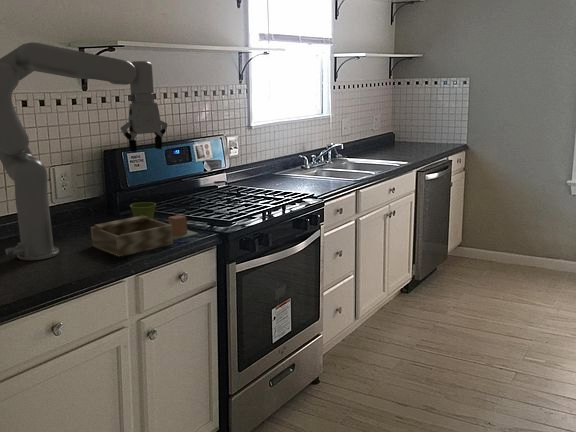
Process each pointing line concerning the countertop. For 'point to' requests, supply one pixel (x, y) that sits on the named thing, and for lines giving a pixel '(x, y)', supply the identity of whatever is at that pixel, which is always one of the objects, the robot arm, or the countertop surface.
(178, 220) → the block
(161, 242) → the crate
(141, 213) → the plant pot
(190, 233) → the mat
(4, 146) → the robot arm
